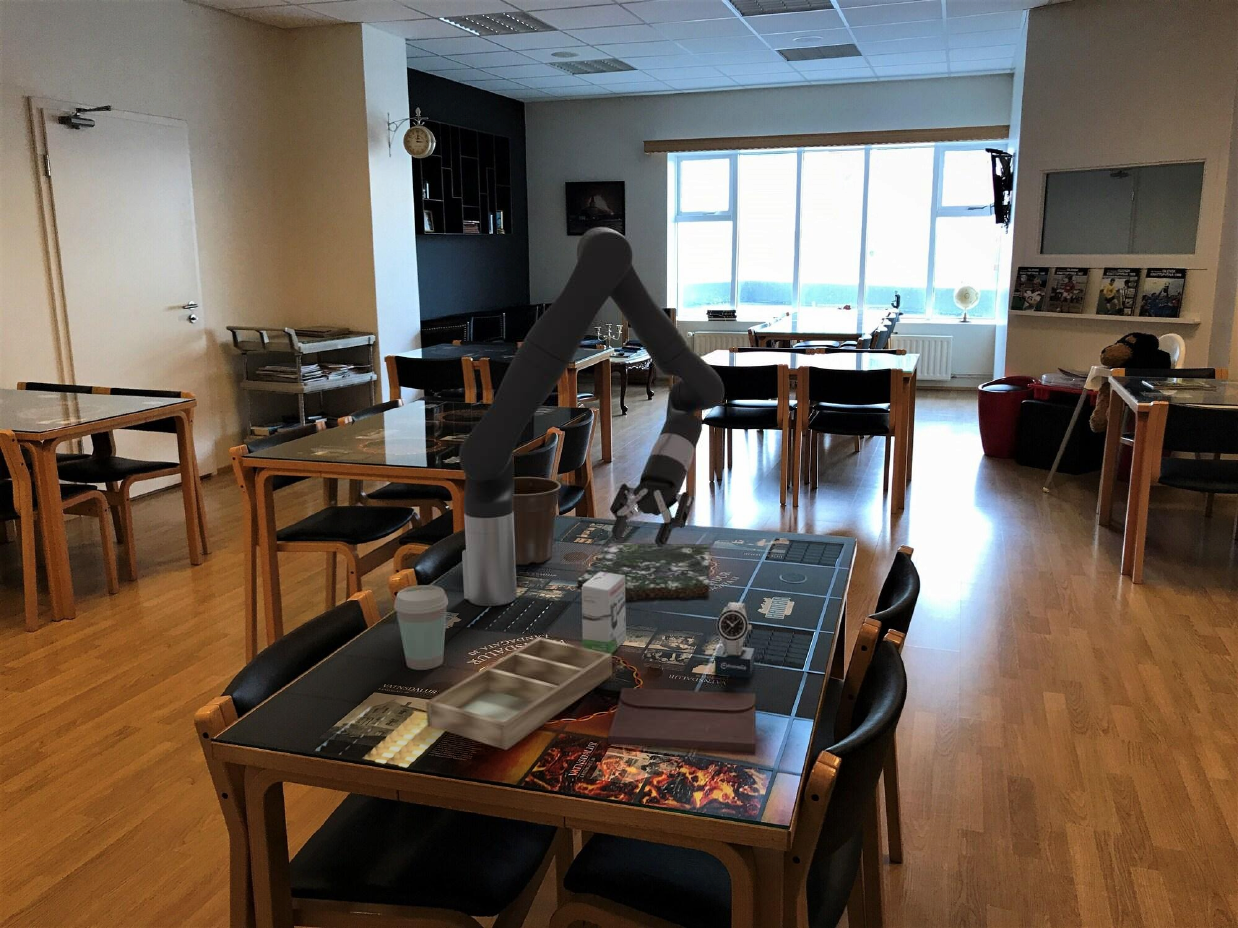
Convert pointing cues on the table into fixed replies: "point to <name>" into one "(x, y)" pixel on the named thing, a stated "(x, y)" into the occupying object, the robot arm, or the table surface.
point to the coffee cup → (422, 625)
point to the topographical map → (655, 569)
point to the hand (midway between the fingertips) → (637, 541)
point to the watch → (733, 643)
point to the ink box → (604, 612)
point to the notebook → (684, 720)
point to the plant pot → (534, 518)
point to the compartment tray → (519, 692)
